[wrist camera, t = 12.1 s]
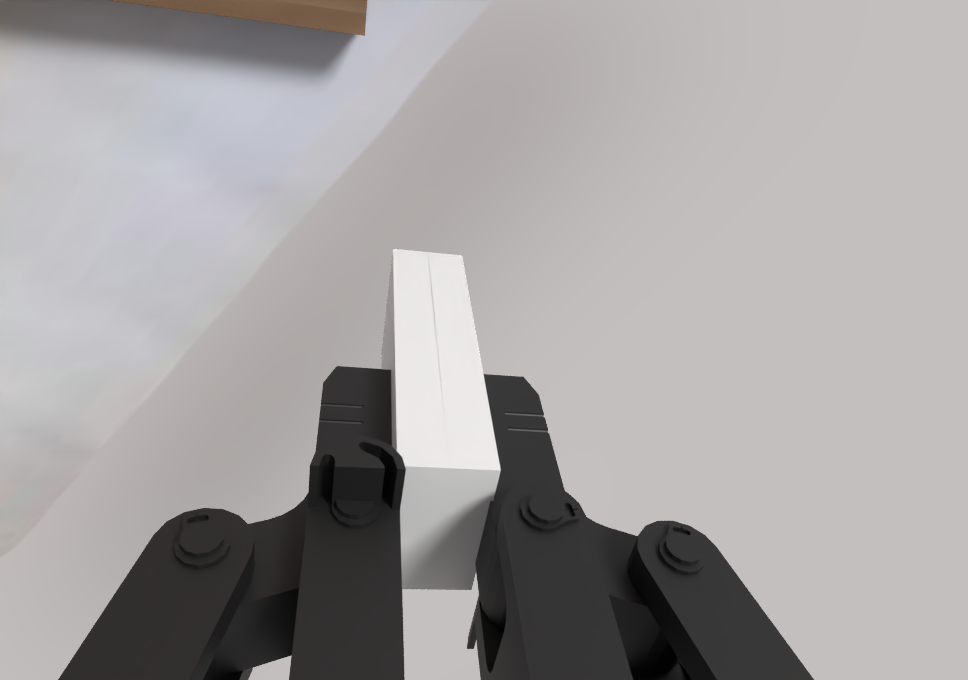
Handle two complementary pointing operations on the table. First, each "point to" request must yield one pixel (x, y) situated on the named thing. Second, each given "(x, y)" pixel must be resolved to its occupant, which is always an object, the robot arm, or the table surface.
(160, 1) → the board
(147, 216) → the table surface
